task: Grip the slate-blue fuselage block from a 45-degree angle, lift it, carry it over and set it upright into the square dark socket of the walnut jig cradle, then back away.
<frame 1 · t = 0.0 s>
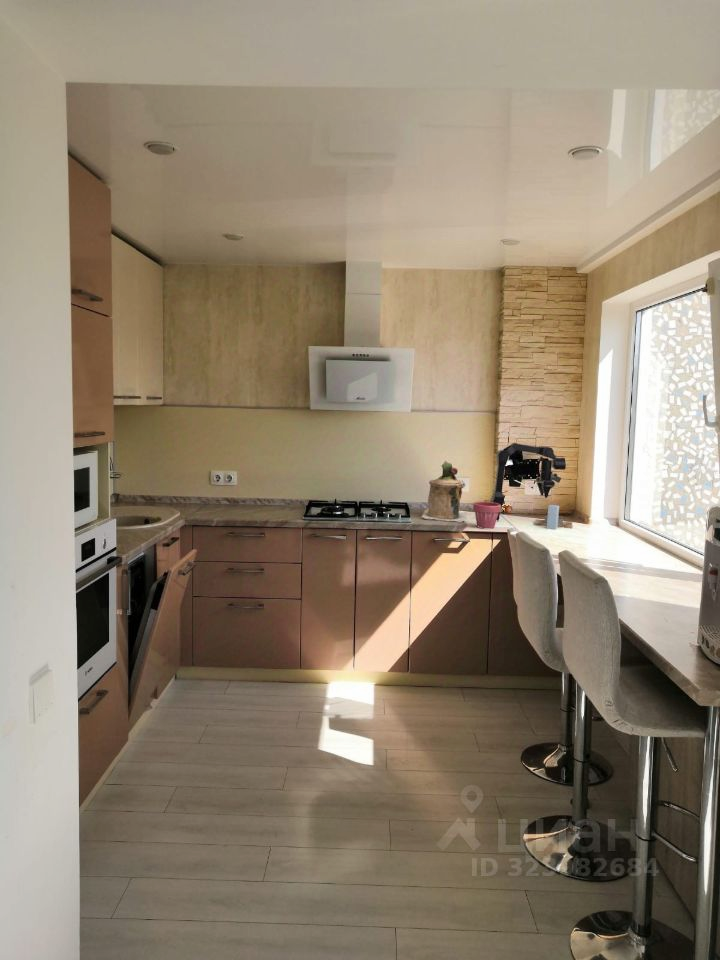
hand: (544, 496, 420), 15 cm above the countertop, tool pointing down, fingers open, 9 cm apart
cookie jar: (444, 518, 422), on the countertop
fuselage block: (552, 528, 403), on the countertop
jig cradle: (553, 524, 415), on the countertop
plant pot: (485, 527, 398), on the countertop
toy helicopter: (497, 513, 448), on the countertop
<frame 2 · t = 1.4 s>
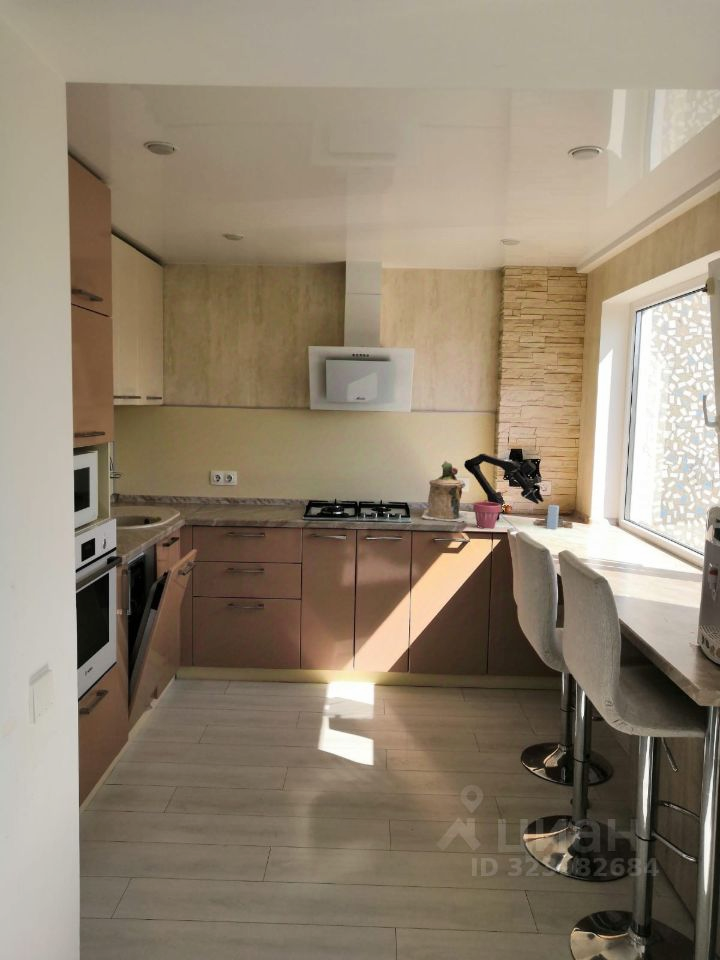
hand: (540, 502, 405), 13 cm above the countertop, tool tilted 45°, fingers open, 9 cm apart
nothing on the countertop moved.
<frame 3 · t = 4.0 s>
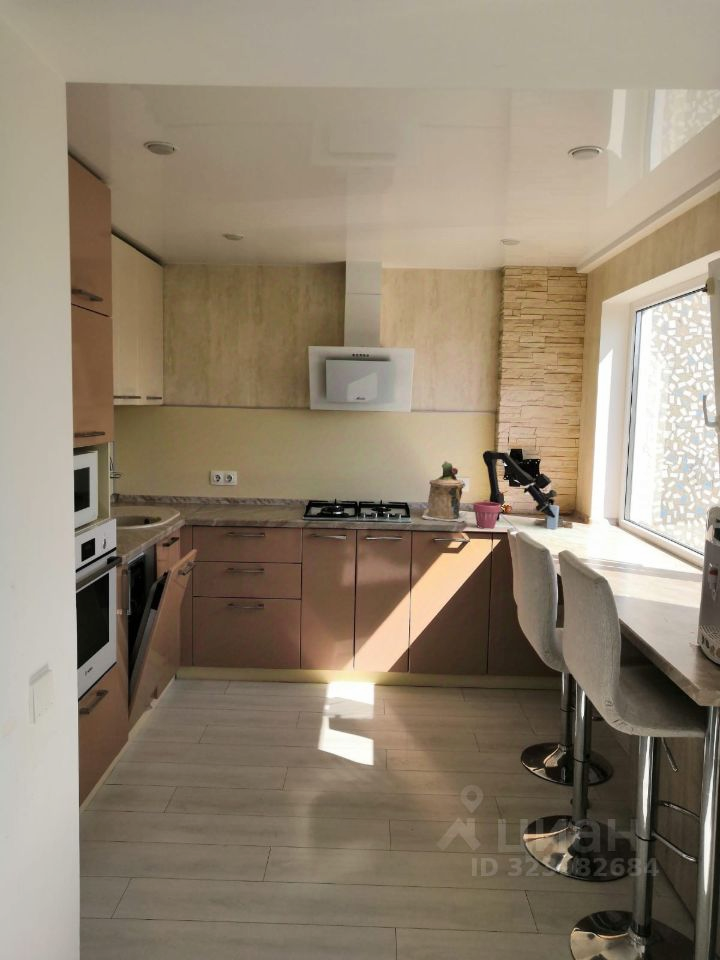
hand: (555, 516, 402), 7 cm above the countertop, tool tilted 45°, fingers closed on fuselage block, 5 cm apart
fuselage block: (552, 528, 403), on the countertop, touching gripper
everything else where it was.
when the fingers open (9 cm above the countertop, at t = 7.9 s): fuselage block drops 1 cm, resting on jig cradle.
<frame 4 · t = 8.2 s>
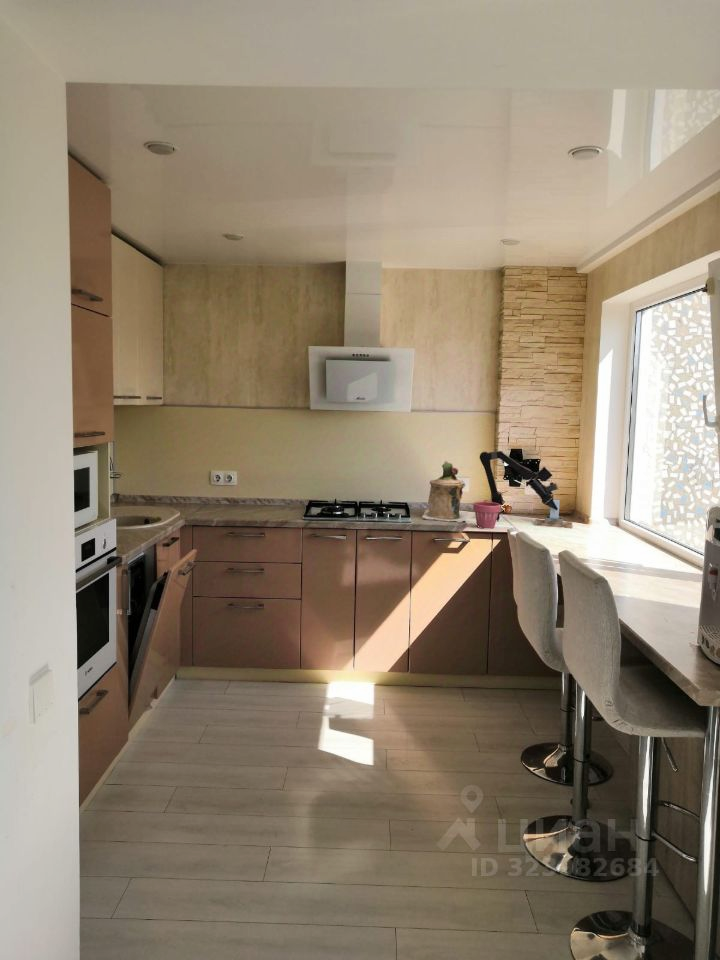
hand: (557, 508, 414), 9 cm above the countertop, tool tilted 45°, fingers open, 8 cm apart
fuselage block: (553, 522, 415), point 1 cm above the countertop, touching jig cradle
everything else where it was.
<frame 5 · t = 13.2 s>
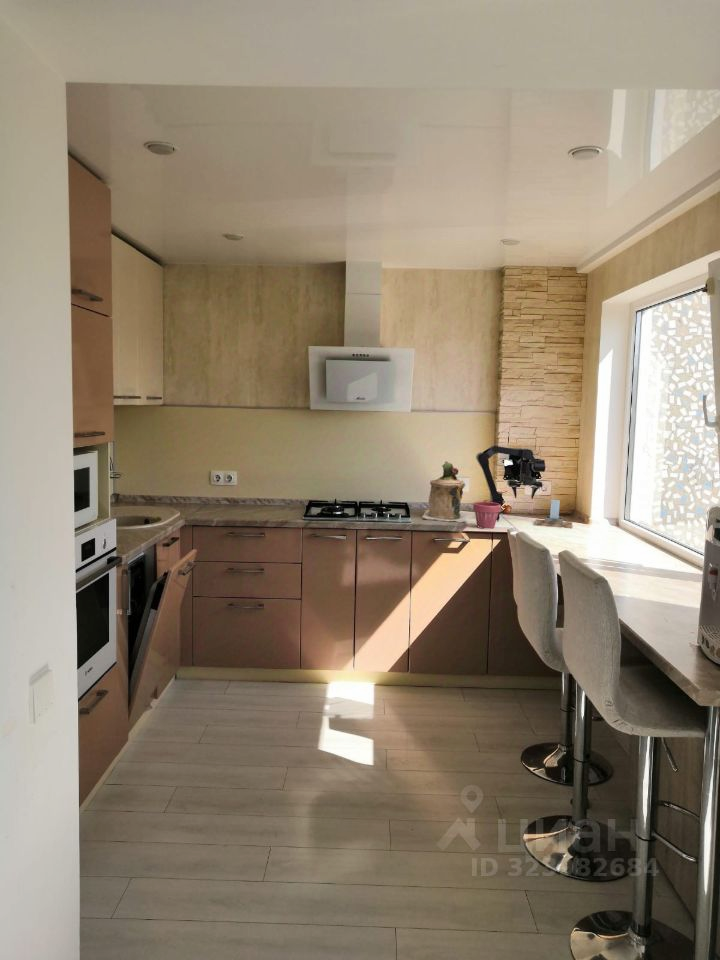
hand: (523, 498, 420), 13 cm above the countertop, tool pointing down, fingers open, 9 cm apart
nothing on the countertop moved.
at the end: fuselage block 0.1 cm off-centre on the jig cradle, point 1.2 cm above the jig cradle's base; fuselage block tilted 0°; the gripper is holding nothing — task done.
